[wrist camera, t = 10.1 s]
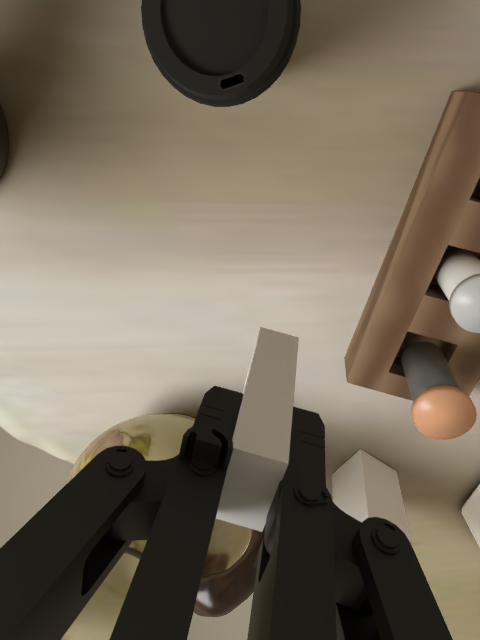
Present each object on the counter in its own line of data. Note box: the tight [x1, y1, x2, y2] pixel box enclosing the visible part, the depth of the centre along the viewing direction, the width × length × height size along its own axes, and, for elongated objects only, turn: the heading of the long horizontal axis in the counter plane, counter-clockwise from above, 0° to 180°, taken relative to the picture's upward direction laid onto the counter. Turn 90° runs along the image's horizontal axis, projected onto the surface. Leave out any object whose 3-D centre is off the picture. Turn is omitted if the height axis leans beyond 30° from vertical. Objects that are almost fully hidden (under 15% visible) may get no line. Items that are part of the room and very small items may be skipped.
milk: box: [332, 449, 413, 548], centre depth 49 cm, size 6×6×22 cm
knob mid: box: [434, 247, 480, 333], centre depth 39 cm, size 5×5×9 cm
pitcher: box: [61, 414, 266, 640], centre depth 51 cm, size 22×24×25 cm
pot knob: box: [401, 342, 476, 439], centre depth 41 cm, size 5×5×9 cm
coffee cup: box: [141, 0, 301, 107], centre depth 32 cm, size 10×10×15 cm
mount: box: [345, 91, 480, 401], centre depth 42 cm, size 12×28×5 cm, turn 167°
